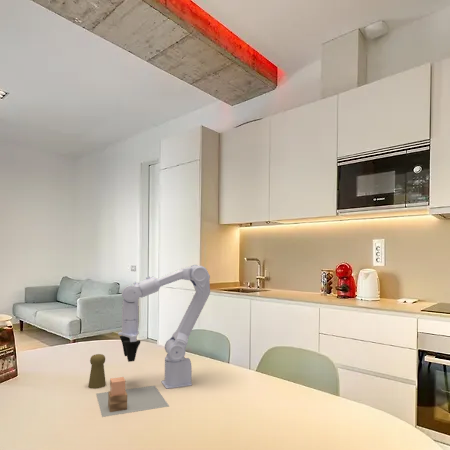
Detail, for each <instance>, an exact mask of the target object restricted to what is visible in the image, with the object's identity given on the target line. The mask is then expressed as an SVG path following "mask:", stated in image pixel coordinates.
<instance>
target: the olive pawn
mask: <svg viewBox="0 0 450 450" xmlns="http://www.w3.org/2000/svg"><path fill="white" fill-rule="evenodd" d="M89 362H90V365H91V367H90V374H89V380H88V388H89V389H92V390H93V389H95V390H96V389H102V388H104V387H106V386H107V384H106V375H105V374H106V373H105V372H106V371H105V365H104V364H105V362H106V356H105V355H104V354H102V353H97V354H93V355H92V356H90V360H89Z"/></svg>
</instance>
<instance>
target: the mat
mask: <svg viewBox="0 0 450 450" xmlns="http://www.w3.org/2000/svg"><path fill="white" fill-rule="evenodd" d="M125 391H126V393H127V410H121V411H115V412H110V411H109V407H108V391H106V392H99V393H95V395H96V398H97V403H98V406H99V411H100V415H101V417H102V418H103V417H105V418H106V417H110V416H111V417H112V416H118V415H124V414H129V413H130V414H131V413H136V412H142V411H148V410H156V409H161V408H167V407H170V405H169V404H168V402H167V401H166V399H165V397H164V396H163V395H162V394H161V392H160V391H159V390H158V388H157V387H156V385H149V386H148V385H147V386H142V387H133V388H125Z"/></svg>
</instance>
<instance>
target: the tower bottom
mask: <svg viewBox="0 0 450 450" xmlns="http://www.w3.org/2000/svg"><path fill="white" fill-rule="evenodd" d="M108 407H109V411H110V412H115V411H121V410H127V402H124V403H118V404H111V405H110V403H109V400H108Z"/></svg>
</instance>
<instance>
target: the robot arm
mask: <svg viewBox="0 0 450 450" xmlns="http://www.w3.org/2000/svg"><path fill="white" fill-rule="evenodd" d="M208 271H209V270H208V269H207V268H206V267H205V266H203V265H199V264H198V265H197V264H193V265H190V266H185V267H181V268H179V269H177V270H175V271H172V272H169V273H167V274H165V275H163V276H160V277H158V278H157V277H154V276H146V277H145V279H143V280H140V281H138V282H136V281H134V282H133V285H132V284H129V285H126V286H125V287H124V288H123V289H122V292H121V296H122V298H123V299H122V307H121V331H118V333H117V335H118V336H119V338H120V340H121V343H122V344H121V345H122V348H123V354H124V357H127V362H128V363H131V362H135V360H136V357H137V356H136V355H137V352H138V348H139V346H140V344H141V340H139V339H138V340H137V337H138V335H139V334H140V332H139V299H140V298H142V299H143V298H144V297H147V296H149V295H152V294H155V293H157V292H159V290H160V289H161V287H163V286H165V285H166V286H167V285H169V284H171V283H174V282H177V281H179V280H184V281H190V282H191V283H192V285H193V288H194V290H195V293H194V295H193V297H192V299H191V301H190V303H189V305H188V307H187V309H186V311H185V312H184V315H183V317H182V319H181V321H180V323H179V325H178V327H177V328H176V330H175V332H173V334H171V337H170V338H169V339H168V340H166V341H165V344H164V350H165V352H166V353H167V354H166V356H165V357H164V380H161V384H162V385H163V386H164V387H165V389H167V390H170V389H176V388H183V387H184V388H185V387H189V386H193V384H192V377H193V376H192V372H193V371H192V369H193V368H192V362H191V359H190V358H189V357H185V356H186V348H187V346H188V343H189V342H188V341H189V336H190V335H191V333H192V331H193V329H194V327H195V324H196V323H197V321H198V319H199V316H200V314H201V313H202V311H203V309H204V306H206V302H207V301H208V299H209V296H210V295H211V286H210V285H211V284H210V279H211V275H210V274H209V272H208Z"/></svg>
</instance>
